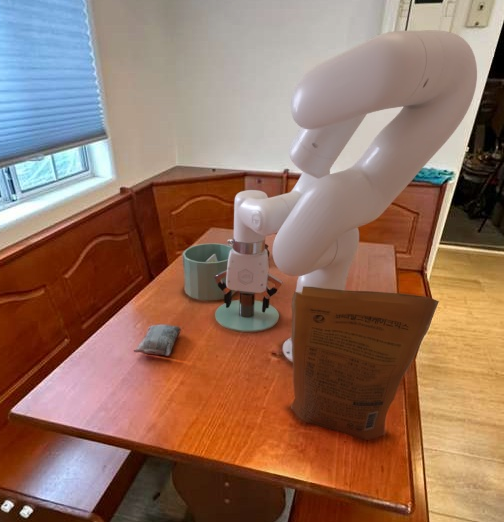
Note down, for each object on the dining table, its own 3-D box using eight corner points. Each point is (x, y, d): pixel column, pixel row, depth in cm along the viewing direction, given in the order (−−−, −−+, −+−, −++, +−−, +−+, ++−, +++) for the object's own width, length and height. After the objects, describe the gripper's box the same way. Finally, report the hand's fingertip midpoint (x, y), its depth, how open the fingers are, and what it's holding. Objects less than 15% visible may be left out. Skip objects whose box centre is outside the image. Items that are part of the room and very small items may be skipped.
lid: (273, 338, 98) (275, 311, 94) (207, 329, 103) (206, 303, 99) (282, 306, 111) (285, 281, 107) (223, 300, 116) (224, 275, 112)
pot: (230, 304, 114) (230, 265, 107) (177, 298, 119) (174, 260, 112) (242, 281, 126) (243, 245, 120) (193, 277, 131) (192, 241, 125)
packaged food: (134, 359, 94) (132, 342, 91) (149, 333, 103) (148, 316, 100) (170, 363, 92) (169, 345, 89) (182, 336, 101) (181, 319, 99)
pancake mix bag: (390, 455, 66) (441, 307, 51) (277, 421, 74) (292, 284, 59) (393, 428, 71) (440, 286, 56) (287, 399, 79) (303, 267, 64)
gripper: (210, 248, 96) (210, 310, 105) (283, 253, 91) (277, 319, 100) (218, 237, 102) (218, 297, 111) (287, 242, 96) (281, 305, 106)
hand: (246, 307), depth 106 cm, fingers open, 9 cm apart
